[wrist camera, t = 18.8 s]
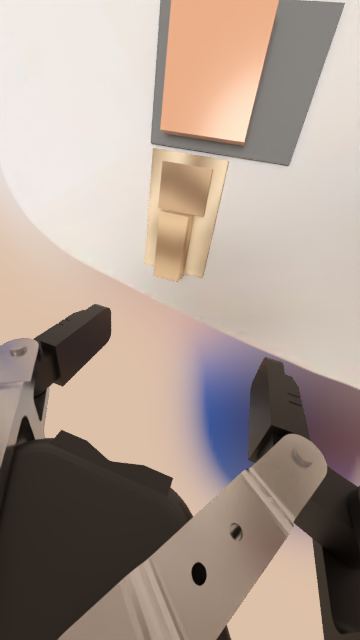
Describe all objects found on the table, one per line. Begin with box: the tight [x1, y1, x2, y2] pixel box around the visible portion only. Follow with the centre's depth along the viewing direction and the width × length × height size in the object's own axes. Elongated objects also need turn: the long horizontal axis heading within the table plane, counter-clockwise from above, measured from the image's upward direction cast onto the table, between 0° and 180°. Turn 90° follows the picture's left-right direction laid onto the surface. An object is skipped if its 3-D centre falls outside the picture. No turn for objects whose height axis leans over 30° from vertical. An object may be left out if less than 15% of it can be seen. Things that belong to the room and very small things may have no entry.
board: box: [145, 148, 229, 278], centre depth 29 cm, size 9×14×1 cm, turn 171°
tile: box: [160, 0, 279, 146], centre depth 21 cm, size 2×9×9 cm
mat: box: [151, 0, 345, 166], centre depth 22 cm, size 16×11×1 cm
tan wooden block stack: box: [153, 161, 213, 282], centre depth 28 cm, size 13×6×4 cm, turn 171°
